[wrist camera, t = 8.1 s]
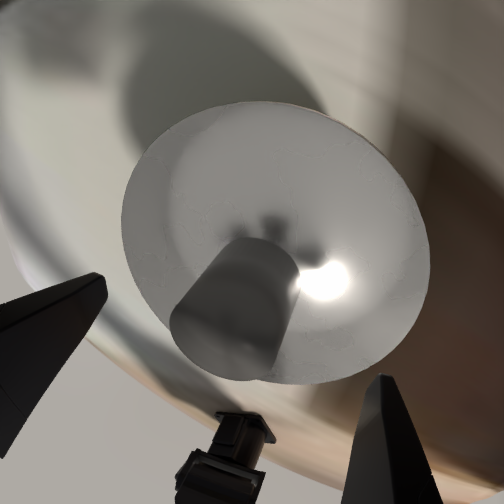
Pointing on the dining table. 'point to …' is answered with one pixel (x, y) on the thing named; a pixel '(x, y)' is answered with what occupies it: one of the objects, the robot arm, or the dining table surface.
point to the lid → (275, 243)
